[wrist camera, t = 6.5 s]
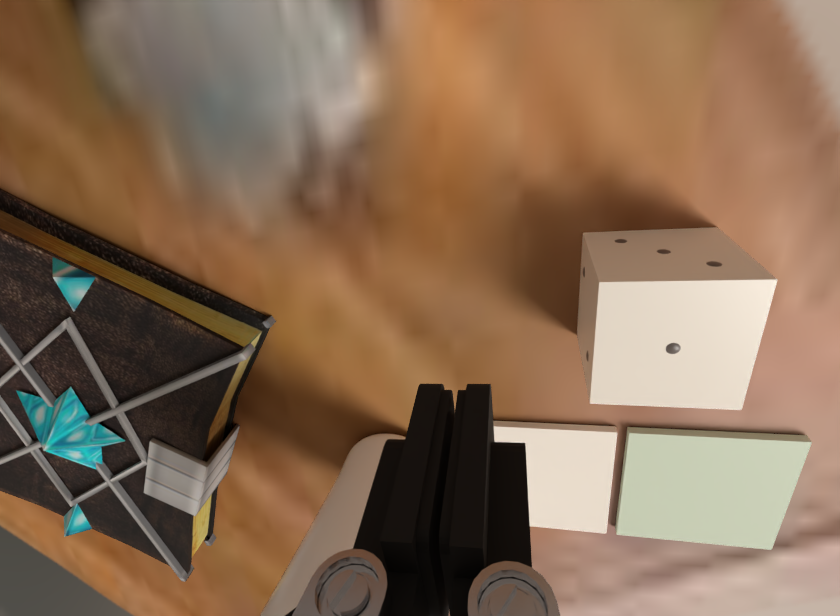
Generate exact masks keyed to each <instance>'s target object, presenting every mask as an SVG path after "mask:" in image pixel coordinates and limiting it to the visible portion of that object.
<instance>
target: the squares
mask: <svg viewBox="0 0 840 616" xmlns="http://www.w3.org/2000/svg"><path fill="white" fill-rule="evenodd" d="M493 425H494V441H495V442H512V443H525V446H526V465H527V484H528V504H529V523H530V526H534V527H544V528H554V529H564V530H574V531H585V532H595V533H605V534H606V532H607V522H608V513H609V504H610V495H611V486H612V477H613V468H614V458H615V449H616V440H617V429H616V426H597V425H576V424H554V423H533V422H512V421H493ZM811 443H812V442H811V440H810V439H809V438H808V436H807V435H788V434H767V433H746V432H724V431H703V430H682V429H661V428H639V427H627V435H626V444H625V452H624V460H623V468H622V476H621V485H620V493H619V501H618V509H617V517H616V526H615V529H616V534H617V535H625V536H636V537H646V538H656V539H666V540H676V541H686V542H697V543H707V544H717V545H727V546H737V547H748V548H758V549H768V550H772V547H773V545H774V542H775V539H776V537H777V534H778V531H779V529H780V526H781V523H782V521H783V518H784V515H785V513H786V510H787V507H788V505H789V502H790V499H791V497H792V494H793V491H794V489H795V486H796V483H797V481H798V478H799V475H800V473H801V470H802V467H803V465H804V462H805V459H806V457H807V454H808V451H809V449H810V446H811Z"/></svg>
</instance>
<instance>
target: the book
mask: <svg viewBox="0 0 840 616" xmlns="http://www.w3.org/2000/svg"><path fill="white" fill-rule="evenodd" d="M275 322H276V321H275V319H274V318H273V317H272V316H270V317H267V316H265V315H263V314H261V313H258V312H256V311H254V310H252V309H249V308H247V307H245V306H243V305H240V304H238V303H236V302H234V301H231V300H229V299H227V298H225V297H222V296H220V295H218V294H215V293H213V292H211V291H209V290H206V289H204V288H202V287H200V286H197V285H195V284H193V283H191V282H188V281H186V280H184V279H182V278H180V277H178V276H176V275H173V274H171V273H169V272H167V271H165V270H163V269H161V268H159V267H157V266H155V265H152V264H150V263H148V262H146V261H144V260H142V259H140V258H138V257H136V256H134V255H131V254H129V253H127V252H125V251H123V250H121V249H119V248H117V247H115V246H112V245H110V244H108V243H106V242H104V241H102V240H100V239H98V238H96V237H94V236H91V235H89V234H87V233H85V232H83V231H81V230H79V229H77V228H75V227H73V226H70V225H68V224H66V223H64V222H62V221H60V220H58V219H56V218H54V217H52V216H50V215H48V214H47V213H45V212H43V211H41V210H39V209H37V208H35V207H33V206H31V205H29V204H27V203H25V202H24V201H22V200H20V199H18V198H16V197H14V196H12V195H10V194H8V193H6V192H4V191H2V190H1V189H0V491H2V492H5V493H8V494H10V495H13V496H16V497H18V498H21V499H24V500H26V501H29V502H32V503H34V504H37V505H40V506H42V507H44V508H46V509H49V510H51V511H53V512H55V513H58V514H60V515H62V516H64V537H65V536H69V535H72V534H76V533H79V532H83V531H86V530H90V529H94V530H96V531H98V532H101V533H103V534H105V535H107V536H110V537H112V538H114V539H116V540H119V541H121V542H123V543H125V544H128V545H130V546H132V547H134V548H136V549H138V550H140V551H142V552H143V553H145V554H147V555H149V556H151V557H153V558H155V559H157V560H159V561H161V562H163V563H165V564H167V565H169V566H170V567H171V568H172V569H173V570H174V572H175V573H176V574H177V576H178V577H179V578H180V580H181V581H186V580H187V579H188V577H189V576H190V574H191V573H192V571H193V569H194V567H193V566H192V565H191V560H192V557H193V555H194V554H195V552H196V551H197V549H198V548H199V546H200V545H201V543H202V542H203V540H204V539H205V540H204V542H205V543H206V545H207V546H211V545H212V544H213V542H214V541H215V539H216V537H215V535H214V534H213V527H214V517H215V507H216V496H217V488H218V485H219V483H220V482H221V480H222V479H223V478H224V476H225V475H226V473H227V470H228V466H229V463H230V459H231V456H232V452H233V448H234V445H235V441H236V437H237V434H238V430H239V426H240V425H239V424H237V425H236V426H235V427H234V428H233V430H232V431H231V432H230V430H231V426H232V421H233V417H234V412H235V408H236V403H237V399H238V395H239V393H240V391H241V389H242V387H243V385H244V382H245V380H246V378H247V376H248V374H249V372H250V370H251V367H252V365H253V363H254V361H255V359H256V357H257V355H258V352H259V350H260V348H261V346H262V344H263V342H264V340H265V337H266V335H267V333H268V331H269V329H270V327H271V326H272V325H273V324H274V323H275Z"/></svg>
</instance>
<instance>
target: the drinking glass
mask: <svg viewBox="0 0 840 616" xmlns="http://www.w3.org/2000/svg"><path fill="white" fill-rule="evenodd" d="M387 439H406V437H404V436H401V435H396V434H386V433H384V434H375V435H371V436H368V437H366V438H364V439H362V440H360V441H359V442H358V443H356V444H355V445H354V446H353V447H352V449H351V450H350V452H349V453H348V455H347V457H346V459H345V462H344V464H343V466H342V468H341V471H340V473H339V475H338V477H337V479H336V481H335V483H334V485H333V486H332V488H331V490H330V492H329V494H328V495H327V497H326V499H325V501H324V503H323V504H322V506H321V508H320V510H319V512H318V513H317V515H316V517H315V519H314V521H313V522H312V524H311V526H310V528H309V529H308V531H307V533H306V535H305V537H304V538H303V540H302V542H301V544H300V545H299V547H298V549H297V551H296V553H295V554H294V556H293V558H292V560H291V561H290V563H289V565H288V567H287V568H286V570H285V572H284V574H283V575H282V577H281V579H280V581H279V582H278V584H277V586H276V588H275V589H274V591H273V593H272V595H271V597H270V598H269V600H268V602H267V604H266V605H265V607H264V609H263V611H262V612H261V614H260V616H285V615H286V614H288V613H289V612H290V611H292V610H293V609H294V608H296V607H297V605H298V603H299V601H300V599H301V597H302V595H303V593H304V591H305V589H306V587H307V585H308V583H309V581H310V579H311V577H312V576H313V574H314V573H315V572H316V570H317V569H318V567H319V566H320V565H321V564H322V563H323V562H324V561H326V560H327V559H328V558H329V557H331V556H333V555H334V554H336V553H338V552H340V551H344V550H349V549H353V547H354V543H355V540H356V537H357V533H358V530H359V527H360V523H361V520H362V517H363V513H364V510H365V507H366V503H367V500H368V497H369V493H370V490H371V487H372V483H373V480H374V477H375V473H376V470H377V467H378V463H379V460H380V457H381V453H382V450H383V447H384V444H385V442H386V441H387Z"/></svg>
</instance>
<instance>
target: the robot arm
mask: <svg viewBox="0 0 840 616" xmlns="http://www.w3.org/2000/svg"><path fill="white" fill-rule="evenodd" d="M449 611H450V616H560V613H559V609H558V604H557V601H556V598H555V596H554V593H553V591H552V588H551V586H550V585H549V584H548V583H547V581H546V580H545V579H544V577H543V576H542V575H541V574H539V573H538V572H537V571H535V570H534V569H533V568H532V562H531V543H530V523H529V504H528V484H527V465H526V446H525V443H512V442H495V441H494V425H493V410H492V394H491V384H467V388H466V390H458V394H457V402H456V409H455V410H454V401H453V393H452V390H444V386H443V384H420V385H419V387H418V391H417V395H416V399H415V403H414V407H413V411H412V415H411V419H410V423H409V427H408V431H407V435H406V439H387V441H386V442H385V444H384V447H383V450H382V453H381V457H380V460H379V463H378V467H377V470H376V473H375V477H374V480H373V483H372V487H371V490H370V493H369V497H368V500H367V503H366V507H365V510H364V513H363V517H362V520H361V523H360V527H359V530H358V533H357V537H356V540H355V543H354V547H353V549H349V550H344V551H340V552H338V553H336V554H334V555H333V556H331V557H329V558H328V559H327V560H326V561H324V562H323V563H322V564H321V565H320V566H319V567H318V569H317V570H316V572H315V573H314V574H313V576H312V577H311V579H310V581H309V583H308V585H307V587H306V589H305V591H304V593H303V595H302V597H301V599H300V601H299V603H298V605H297V607H296V608H294V609H293V610H292V611H290V612H289V613H288V614H286V615H285V616H448V614H449Z"/></svg>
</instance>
